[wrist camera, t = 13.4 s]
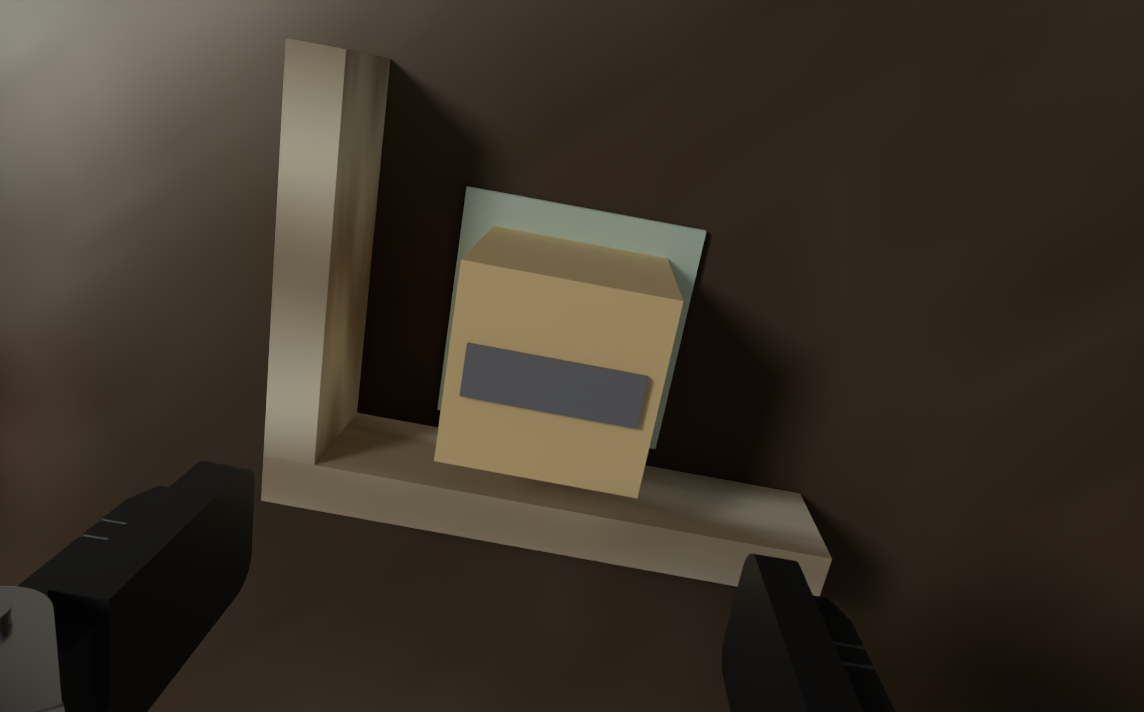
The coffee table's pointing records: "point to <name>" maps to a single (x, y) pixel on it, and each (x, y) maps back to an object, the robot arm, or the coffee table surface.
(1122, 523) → the coffee table surface
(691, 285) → the pad
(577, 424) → the ochre cube
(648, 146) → the coffee table surface
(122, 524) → the robot arm
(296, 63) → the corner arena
